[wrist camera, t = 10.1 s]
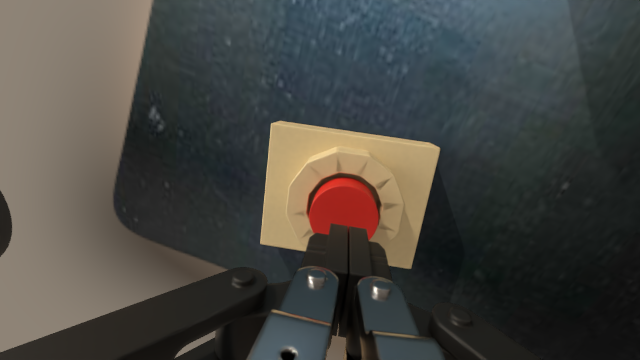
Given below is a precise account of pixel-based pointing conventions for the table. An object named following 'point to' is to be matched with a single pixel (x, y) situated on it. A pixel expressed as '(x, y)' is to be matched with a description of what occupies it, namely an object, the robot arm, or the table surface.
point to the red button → (344, 206)
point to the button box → (353, 162)
